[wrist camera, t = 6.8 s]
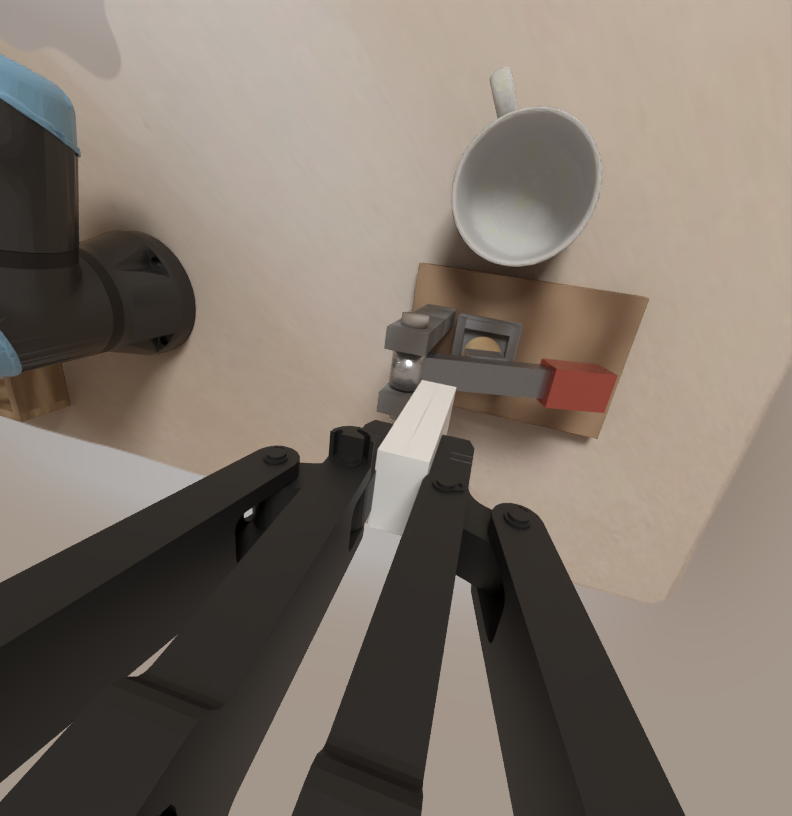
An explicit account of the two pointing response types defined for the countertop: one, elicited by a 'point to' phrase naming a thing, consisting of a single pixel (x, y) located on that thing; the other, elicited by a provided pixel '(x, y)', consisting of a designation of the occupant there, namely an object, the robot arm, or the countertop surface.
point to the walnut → (482, 344)
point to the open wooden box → (33, 393)
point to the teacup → (525, 181)
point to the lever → (509, 378)
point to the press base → (515, 335)
